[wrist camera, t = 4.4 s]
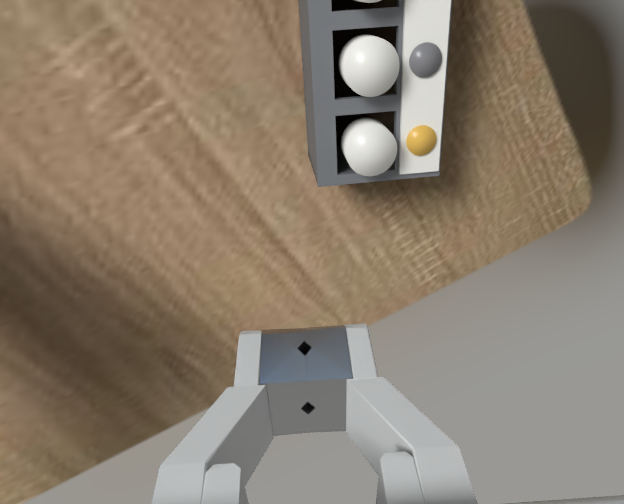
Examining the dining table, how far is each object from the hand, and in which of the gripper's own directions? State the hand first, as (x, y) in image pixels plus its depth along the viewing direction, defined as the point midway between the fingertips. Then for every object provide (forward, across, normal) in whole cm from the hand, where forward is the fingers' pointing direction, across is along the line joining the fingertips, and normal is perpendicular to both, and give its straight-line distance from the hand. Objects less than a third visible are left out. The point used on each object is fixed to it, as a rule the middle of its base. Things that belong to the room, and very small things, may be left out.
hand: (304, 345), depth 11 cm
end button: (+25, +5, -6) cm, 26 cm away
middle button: (+26, +5, 0) cm, 26 cm away
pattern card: (+26, +9, 0) cm, 27 cm away
